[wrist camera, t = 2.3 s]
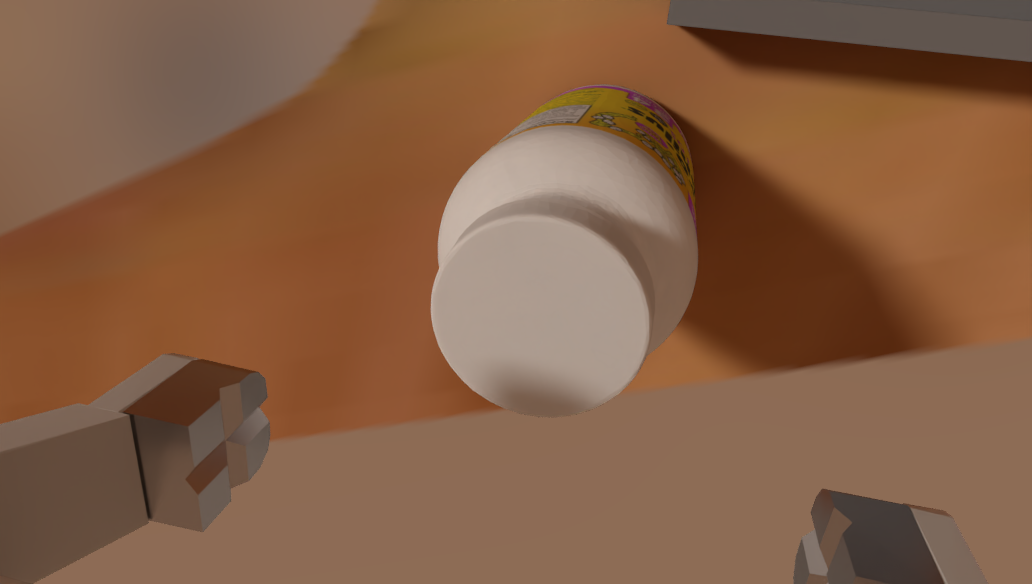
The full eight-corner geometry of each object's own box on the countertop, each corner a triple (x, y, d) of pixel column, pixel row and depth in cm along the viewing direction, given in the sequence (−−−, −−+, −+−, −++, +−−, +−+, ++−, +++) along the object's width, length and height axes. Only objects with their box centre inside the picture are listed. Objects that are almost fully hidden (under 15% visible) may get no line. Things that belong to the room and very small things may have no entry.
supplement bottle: (715, 226, 25) (744, 428, 14) (551, 275, 27) (460, 482, 16) (660, 49, 23) (642, 115, 12) (488, 117, 25) (332, 227, 14)
